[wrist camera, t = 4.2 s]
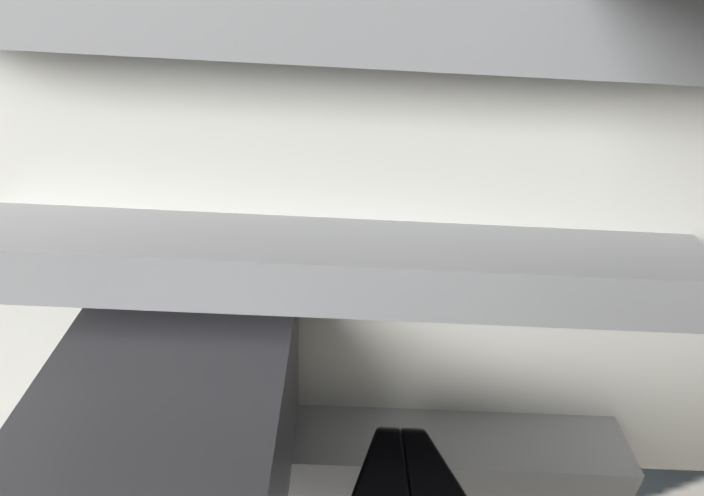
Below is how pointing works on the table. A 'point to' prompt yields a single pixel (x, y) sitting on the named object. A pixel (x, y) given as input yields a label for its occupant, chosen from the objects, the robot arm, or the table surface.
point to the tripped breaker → (158, 408)
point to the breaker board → (382, 215)
